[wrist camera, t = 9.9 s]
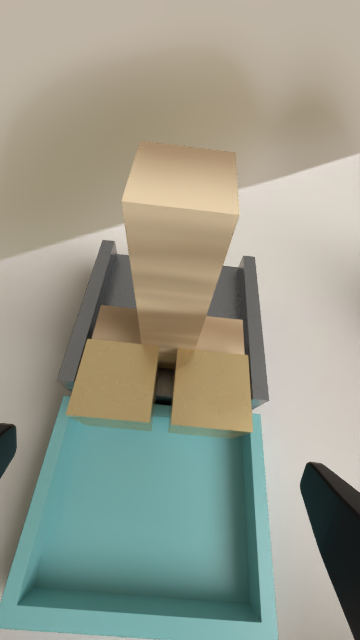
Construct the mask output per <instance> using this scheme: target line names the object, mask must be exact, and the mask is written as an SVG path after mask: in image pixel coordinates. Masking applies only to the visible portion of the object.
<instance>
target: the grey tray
mask: <svg viewBox="0 0 360 640" xmlns="http://www.w3.org/2000/svg"><path fill="white" fill-rule="evenodd" d="M101 305H105V306H114V307H124V308H133V309H137V307H136V300H135V293H134V286H133V279H132V272H131V265H130V258H129V255H120V254H117V251H116V246H115V241H107V240H103V241H102V244H101V247H100V250H99V253H98V256H97V259H96V262H95V265H94V268H93V271H92V274H91V277H90V280H89V283H88V286H87V289H86V292H85V296H84V299H83V302H82V305H81V308H80V311H79V314H78V317H77V320H76V323H75V326H74V329H73V332H72V335H71V338H70V341H69V344H68V347H67V350H66V354H65V357H64V360H63V363H62V366H61V369H60V372H59V375H58V378H57V381H58V382H60V383H61V384H62V385H63V386H65V387H66V388H67V389H68V390H70V391H71V392H72V390H73V387H74V383H75V380H76V377H77V373H78V370H79V366H80V363H81V359H82V356H83V352H84V349H85V345H86V342H87V339H92V336H93V332H94V328H95V325H96V321H97V318H98V314H99V311H100V307H101ZM206 316H210V317H219V318H229V319H239V320H243V335H244V353H245V355H248V360H249V376H250V392H251V407H252V410H253V409H255V408H256V407H258V406H260V405H262V404H264V403H265V402H267V401H269V395H268V385H267V375H266V365H265V355H264V345H263V335H262V324H261V314H260V304H259V294H258V284H257V274H256V264H255V257H250V256H243V258H242V260H241V262H240V265H239V267H229V266H223V267H222V270H221V273H220V276H219V279H218V282H217V285H216V288H215V291H214V294H213V297H212V300H211V303H210V306H209V309H208V312H207V315H206ZM173 374H174V369H167V368H159V375H158V383H157V391H156V399H155V404H156V405H167V406H171V395H172V385H173Z"/></svg>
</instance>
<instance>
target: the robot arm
mask: <svg viewBox="0 0 360 640" xmlns="http://www.w3.org/2000/svg"><path fill="white" fill-rule="evenodd" d="M16 448H17V440H16V426H15V425H13V424H6V423H0V478H1V477H2V475H3V473H4V472H5V470H6V468H7V467H8V465H9V463H10V462H11V460H12V458H13V457H14V455H15V452H16ZM300 490H301V494H302V497H303V500H304V503H305V507H306V510H307V513H308V516H309V520H310V523H311V526H312V529H313V533H314V536H315V539H316V542H317V545H318V548H319V551H320V554H321V556H322V559H323V562H324V564H325V567H326V569H327V572H328V574H329V577H330V579H331V582H332V584H333V587H334V589H335V592H336V594H337V597H338V599H339V602H340V604H341V607H342V609H343V612H344V614H345V617H346V619H347V622H348V624H349V627H350V629H351V632H352V634H353V637H354V639H355V640H360V492H358V491H357V490H356V489H354V488H353V487H352V486H351V485H349V484H348V483H347V482H345V481H344V480H343V479H341V478H340V477H339V476H338V475H336V474H335V473H334V472H332V471H331V470H330V469H329V468H327V467H326V466H325V465H323V464H321V463H316V462H308V463H307V464H306V466H305V470H304V473H303V476H302V479H301V482H300Z"/></svg>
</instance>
